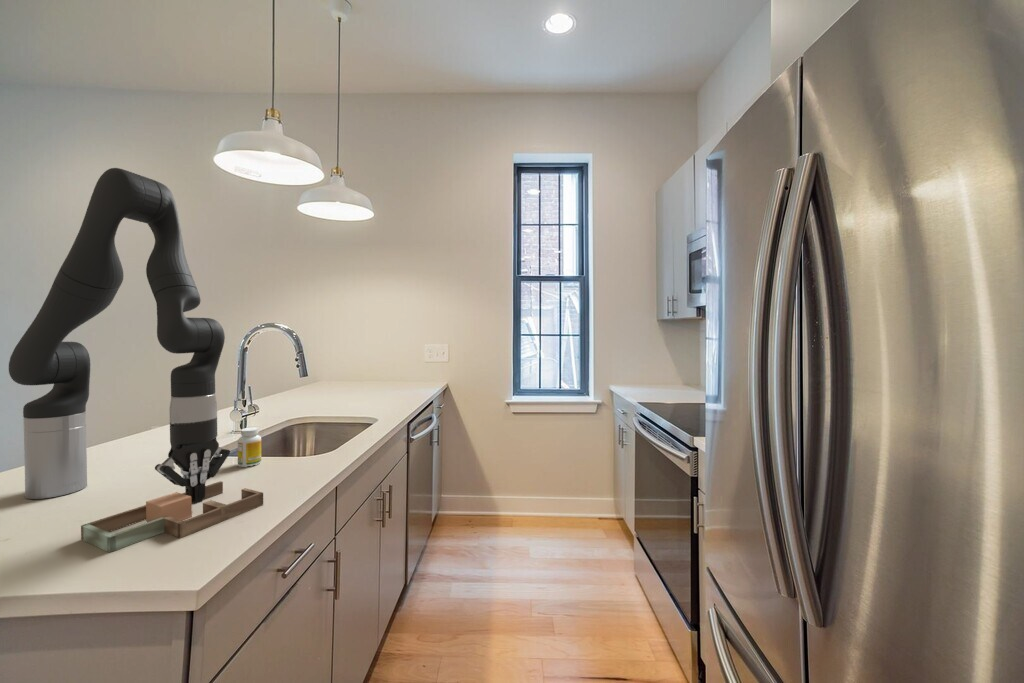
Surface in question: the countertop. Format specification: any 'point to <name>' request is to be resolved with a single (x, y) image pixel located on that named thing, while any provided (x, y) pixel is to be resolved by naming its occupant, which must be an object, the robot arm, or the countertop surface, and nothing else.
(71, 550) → the countertop surface
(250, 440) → the supplement bottle
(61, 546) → the countertop surface
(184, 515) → the terracotta block
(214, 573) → the countertop surface
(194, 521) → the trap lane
